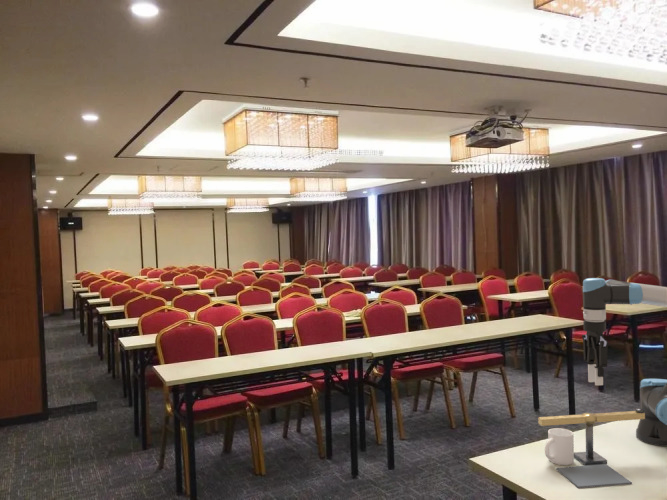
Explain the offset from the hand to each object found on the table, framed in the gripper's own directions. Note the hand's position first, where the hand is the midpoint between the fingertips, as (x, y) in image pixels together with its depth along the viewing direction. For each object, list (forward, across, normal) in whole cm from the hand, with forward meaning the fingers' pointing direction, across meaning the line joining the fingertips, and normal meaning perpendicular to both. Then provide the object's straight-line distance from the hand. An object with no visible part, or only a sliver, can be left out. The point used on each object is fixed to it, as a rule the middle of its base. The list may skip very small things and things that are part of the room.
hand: (595, 383), depth 204 cm
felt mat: (+25, +21, -14) cm, 35 cm away
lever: (+11, +9, -7) cm, 16 cm away
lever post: (+25, +9, -8) cm, 27 cm away
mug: (+25, +8, -20) cm, 33 cm away
